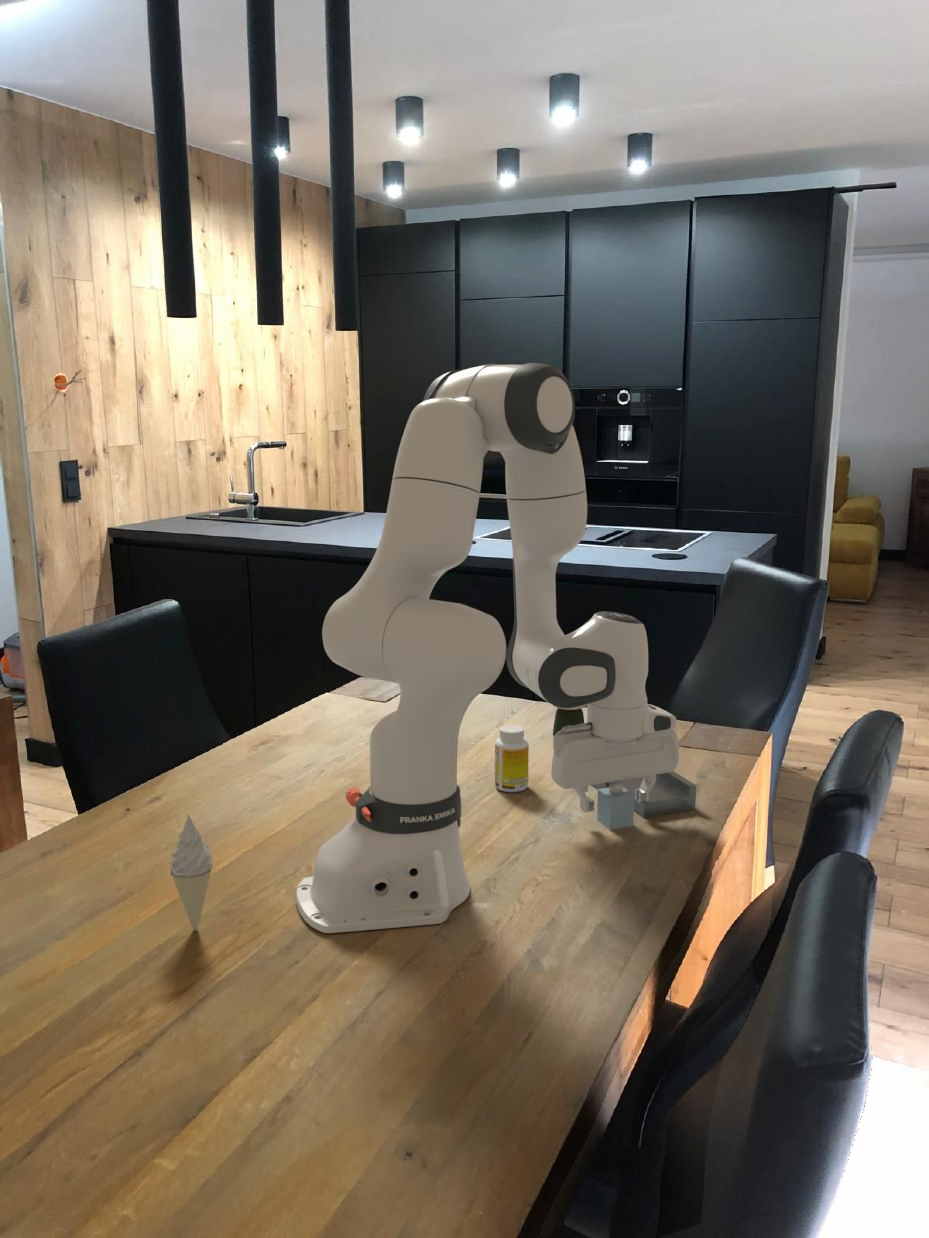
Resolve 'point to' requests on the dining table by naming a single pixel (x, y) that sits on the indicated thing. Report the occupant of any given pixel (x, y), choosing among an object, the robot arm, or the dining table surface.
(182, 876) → the ice cream cone
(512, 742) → the supplement bottle
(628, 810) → the light blue tall block
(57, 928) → the dining table surface
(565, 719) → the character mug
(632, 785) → the rail
